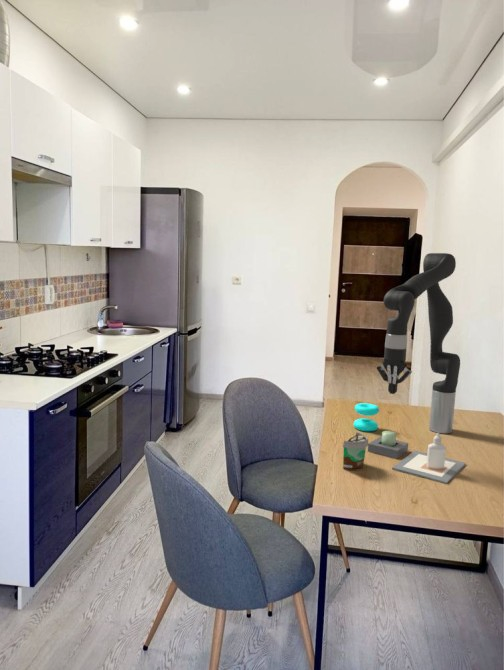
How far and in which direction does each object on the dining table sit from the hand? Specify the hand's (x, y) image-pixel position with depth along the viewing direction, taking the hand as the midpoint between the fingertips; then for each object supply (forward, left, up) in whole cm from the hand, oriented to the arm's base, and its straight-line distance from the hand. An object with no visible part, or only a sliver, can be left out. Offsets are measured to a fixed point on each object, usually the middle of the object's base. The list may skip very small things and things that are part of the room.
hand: (392, 393), depth 192 cm
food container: (+22, -2, -22) cm, 31 cm away
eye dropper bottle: (+7, +19, -21) cm, 30 cm away
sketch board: (+5, +17, -22) cm, 28 cm away
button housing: (0, 0, -22) cm, 22 cm away
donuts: (-20, -18, -22) cm, 35 cm away
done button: (0, 0, -21) cm, 21 cm away
